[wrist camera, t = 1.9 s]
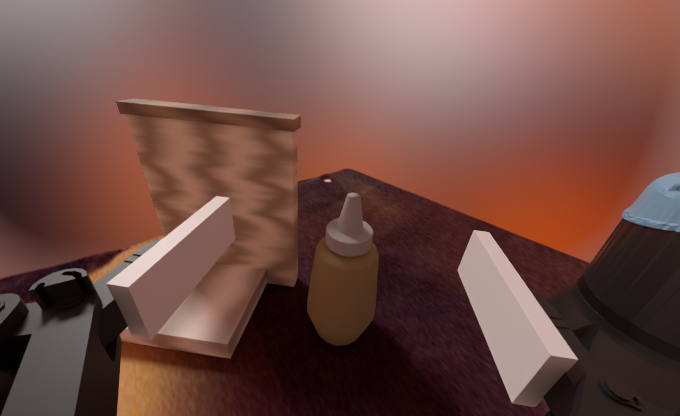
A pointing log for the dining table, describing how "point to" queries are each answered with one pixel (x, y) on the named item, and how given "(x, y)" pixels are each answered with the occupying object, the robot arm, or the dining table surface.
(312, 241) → the dining table surface
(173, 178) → the wooden display stand
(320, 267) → the squeeze bottle
